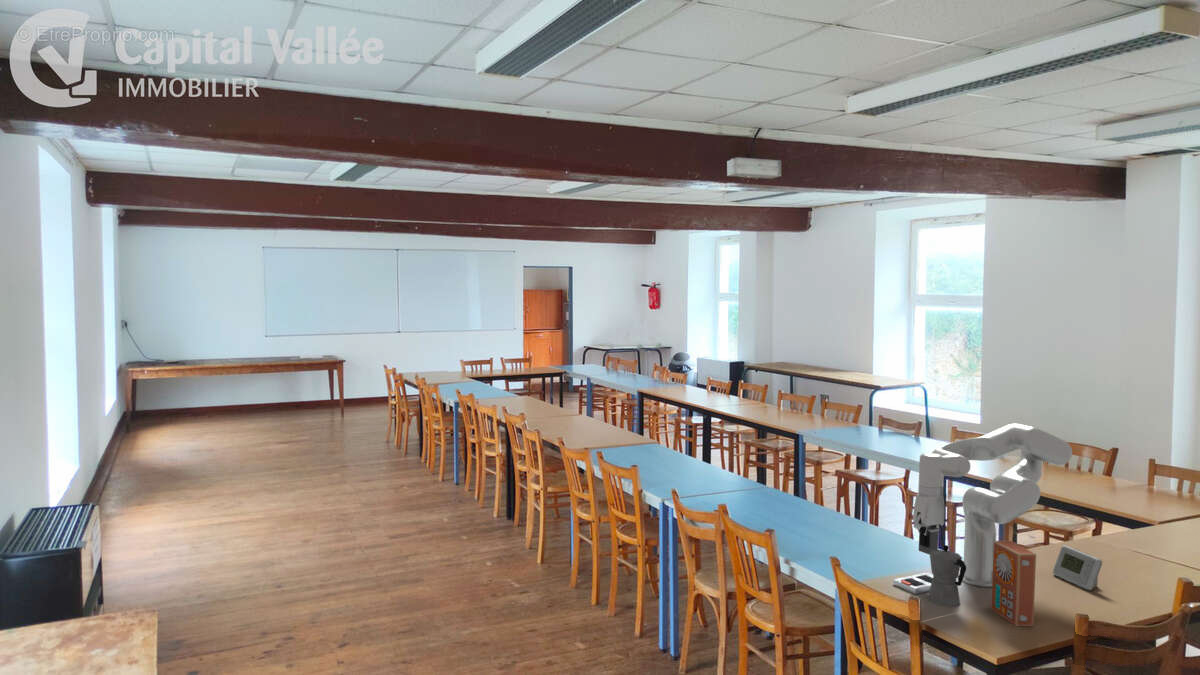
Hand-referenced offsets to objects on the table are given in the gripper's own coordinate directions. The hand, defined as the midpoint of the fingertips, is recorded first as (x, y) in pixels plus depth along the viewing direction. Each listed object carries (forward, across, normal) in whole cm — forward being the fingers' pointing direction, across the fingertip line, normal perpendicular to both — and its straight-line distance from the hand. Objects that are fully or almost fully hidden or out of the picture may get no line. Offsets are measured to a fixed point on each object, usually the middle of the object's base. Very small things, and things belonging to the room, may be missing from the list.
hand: (928, 544), depth 254 cm
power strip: (+14, +3, 0) cm, 14 cm away
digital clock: (+13, -48, +20) cm, 54 cm away
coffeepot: (+14, +7, +13) cm, 21 cm away
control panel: (+14, -1, +30) cm, 33 cm away
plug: (+3, 0, 0) cm, 3 cm away
